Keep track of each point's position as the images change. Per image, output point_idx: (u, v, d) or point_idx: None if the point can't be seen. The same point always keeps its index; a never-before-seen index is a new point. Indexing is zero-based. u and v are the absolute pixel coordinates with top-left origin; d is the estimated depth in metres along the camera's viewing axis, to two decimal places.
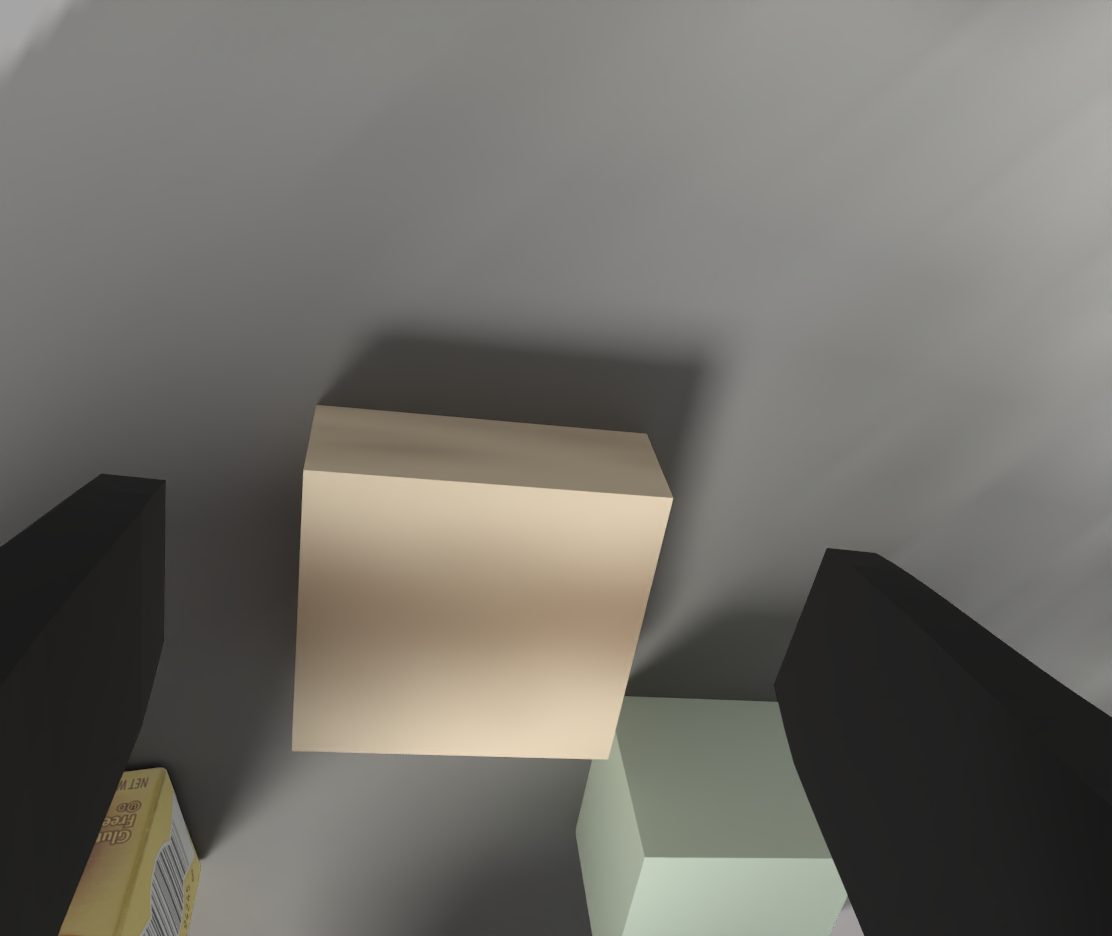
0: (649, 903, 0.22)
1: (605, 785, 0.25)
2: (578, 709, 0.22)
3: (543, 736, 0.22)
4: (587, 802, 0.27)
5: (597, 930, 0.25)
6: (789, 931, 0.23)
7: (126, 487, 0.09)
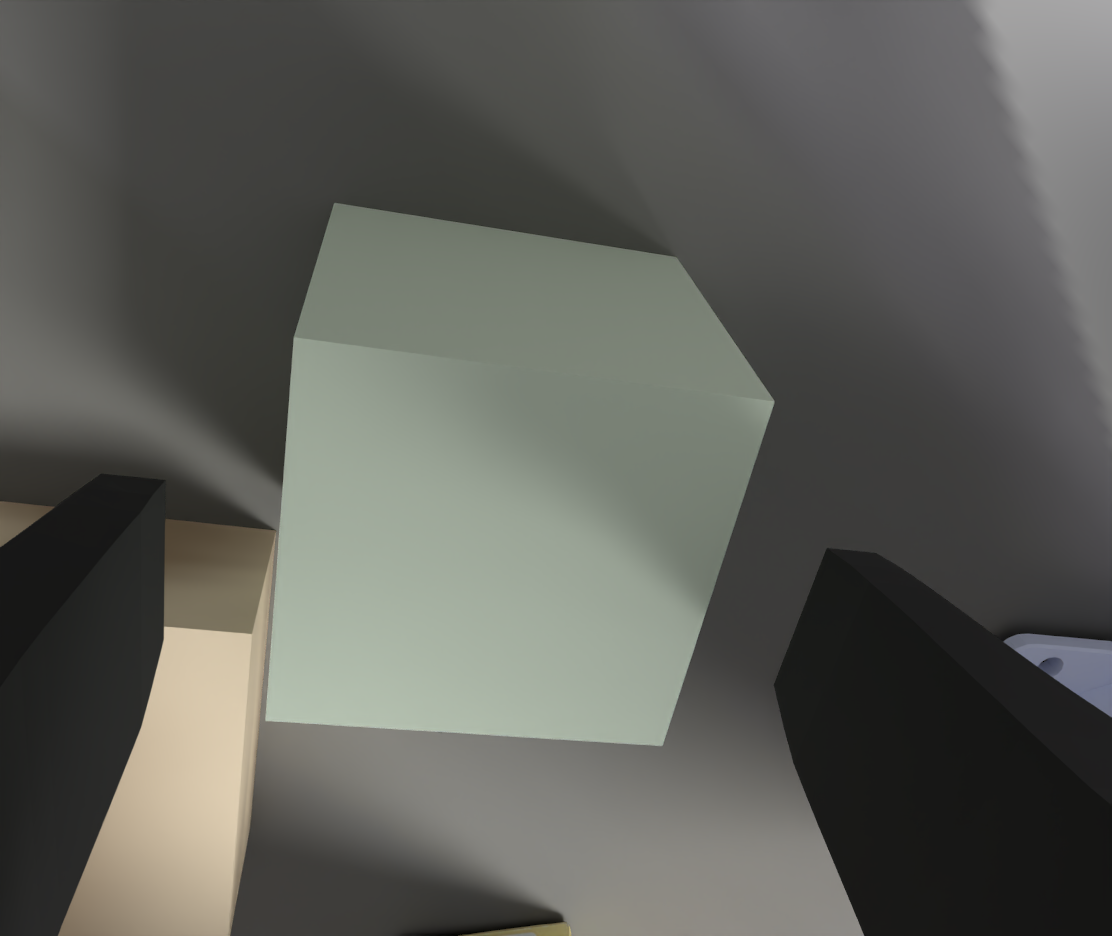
0: (393, 703, 0.12)
1: None
2: None
3: (200, 714, 0.15)
4: None
5: None
6: (526, 460, 0.11)
7: (125, 487, 0.09)
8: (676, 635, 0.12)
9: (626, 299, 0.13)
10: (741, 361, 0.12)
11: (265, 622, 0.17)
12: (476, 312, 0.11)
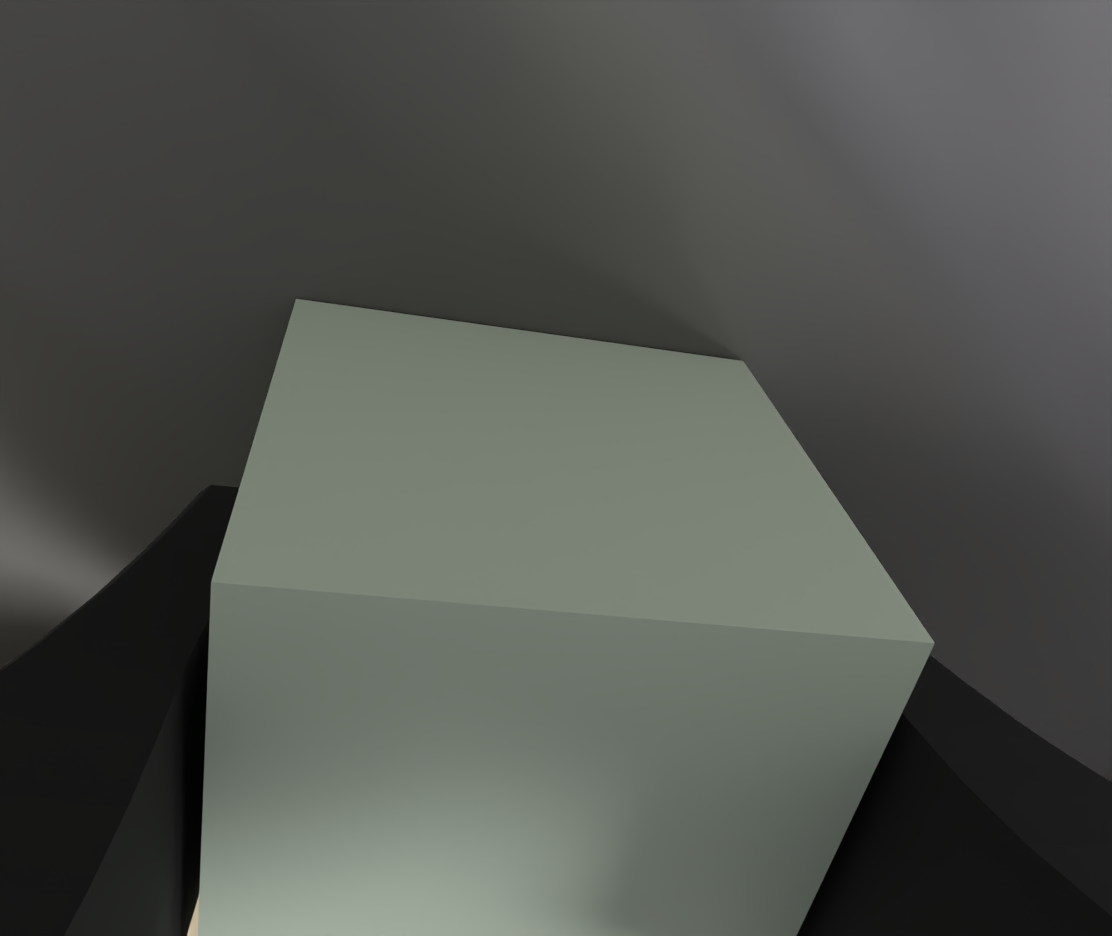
0: None
1: None
2: None
3: None
4: None
5: None
6: (567, 730, 0.07)
7: None
8: (769, 929, 0.09)
9: (693, 447, 0.09)
10: (869, 559, 0.08)
11: None
12: (490, 497, 0.08)
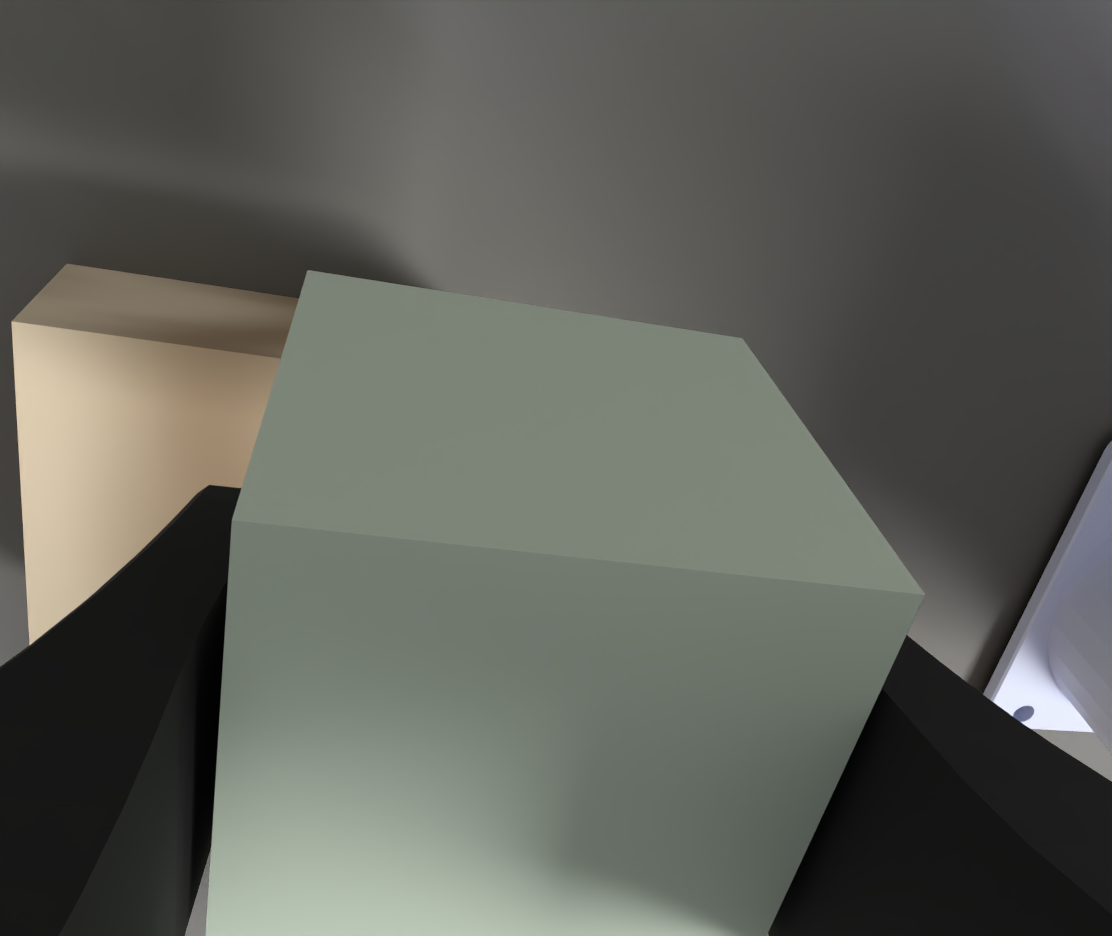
0: None
1: None
2: None
3: None
4: None
5: None
6: (570, 674, 0.08)
7: (235, 498, 0.10)
8: (763, 880, 0.09)
9: (693, 414, 0.10)
10: (862, 519, 0.08)
11: None
12: (497, 455, 0.08)
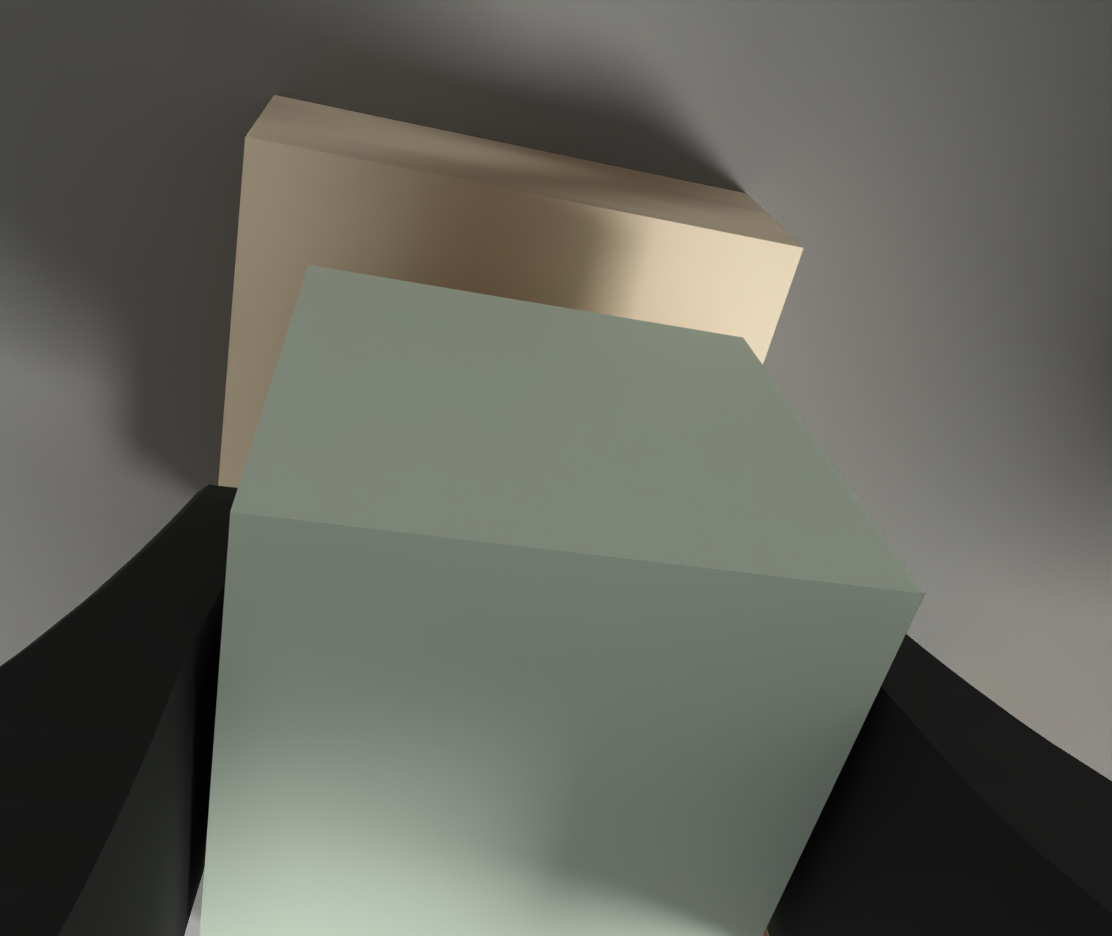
0: None
1: None
2: (676, 296, 0.13)
3: None
4: None
5: None
6: (569, 670, 0.08)
7: None
8: (760, 879, 0.09)
9: (693, 412, 0.10)
10: (863, 517, 0.08)
11: None
12: (497, 449, 0.08)
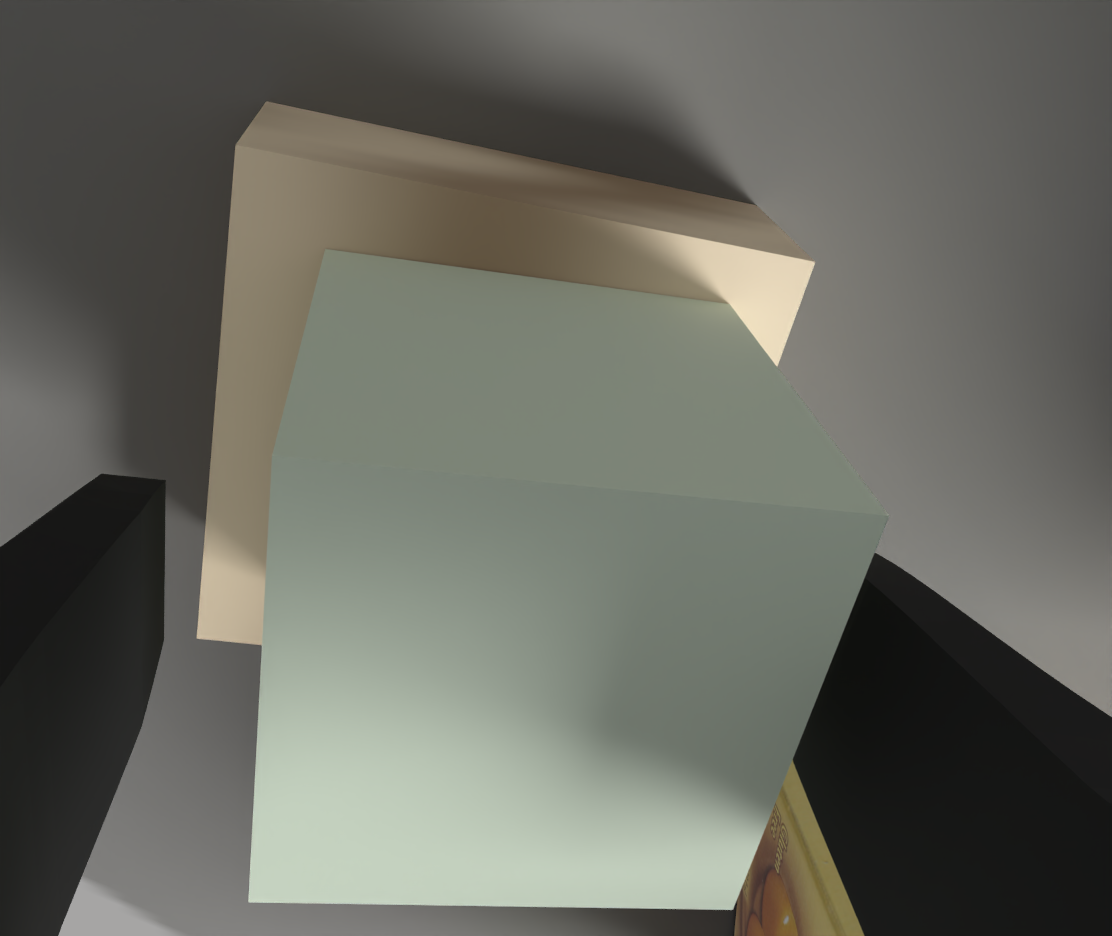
0: (407, 877, 0.10)
1: None
2: None
3: None
4: None
5: None
6: (573, 594, 0.08)
7: (125, 487, 0.09)
8: (754, 788, 0.10)
9: (682, 368, 0.10)
10: (835, 454, 0.09)
11: None
12: (504, 404, 0.09)
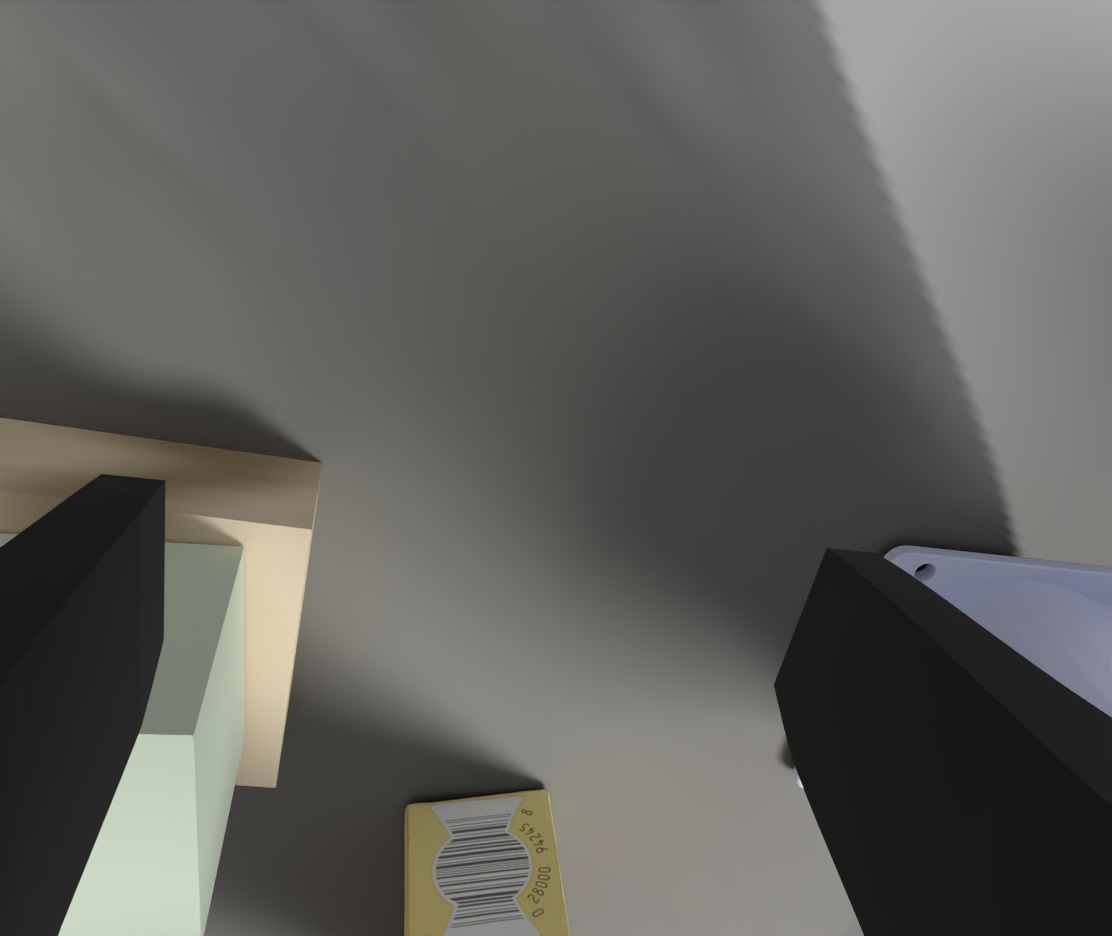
0: None
1: None
2: None
3: (269, 591, 0.20)
4: None
5: None
6: None
7: (125, 487, 0.09)
8: (181, 878, 0.17)
9: None
10: (200, 687, 0.16)
11: (312, 532, 0.22)
12: None
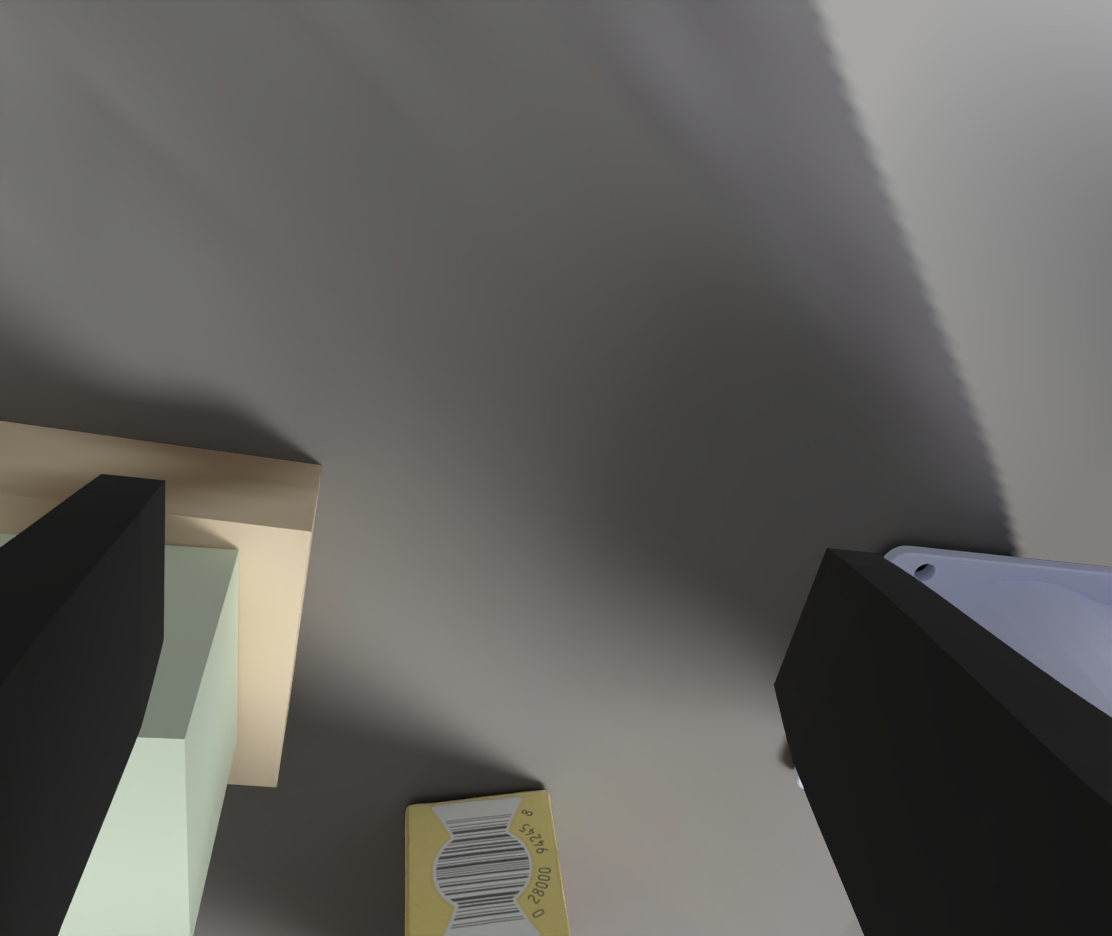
0: None
1: None
2: None
3: (268, 593, 0.20)
4: None
5: None
6: None
7: (124, 487, 0.09)
8: (170, 880, 0.17)
9: None
10: (192, 691, 0.16)
11: (312, 534, 0.22)
12: None
